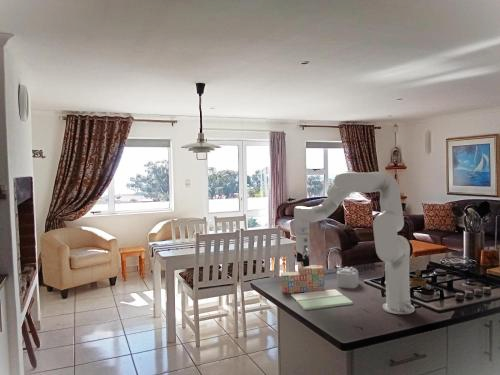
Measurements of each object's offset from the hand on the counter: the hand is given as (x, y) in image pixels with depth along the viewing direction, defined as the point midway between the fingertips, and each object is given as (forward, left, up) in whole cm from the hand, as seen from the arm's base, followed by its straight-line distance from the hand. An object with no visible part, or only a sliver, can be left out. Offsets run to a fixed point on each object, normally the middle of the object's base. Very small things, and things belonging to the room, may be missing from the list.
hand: (302, 264), depth 191 cm
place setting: (-14, -58, -15) cm, 61 cm away
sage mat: (-21, -3, -14) cm, 25 cm away
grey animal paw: (+3, -25, -14) cm, 29 cm away
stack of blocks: (+1, 0, -14) cm, 14 cm away
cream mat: (-10, -3, -14) cm, 18 cm away
